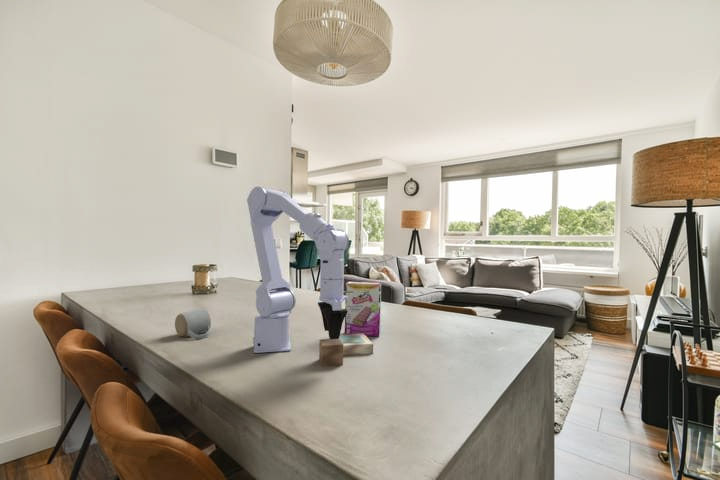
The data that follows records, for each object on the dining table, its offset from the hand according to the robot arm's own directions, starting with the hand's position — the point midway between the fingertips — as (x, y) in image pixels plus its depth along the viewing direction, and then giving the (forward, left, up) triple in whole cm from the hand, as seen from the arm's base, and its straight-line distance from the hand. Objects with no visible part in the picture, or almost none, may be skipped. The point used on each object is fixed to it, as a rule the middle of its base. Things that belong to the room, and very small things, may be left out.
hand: (331, 334), depth 82 cm
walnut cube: (0, 0, -7) cm, 7 cm away
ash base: (+7, +9, -7) cm, 13 cm away
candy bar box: (+14, +22, -7) cm, 27 cm away
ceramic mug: (-37, +32, -7) cm, 49 cm away
